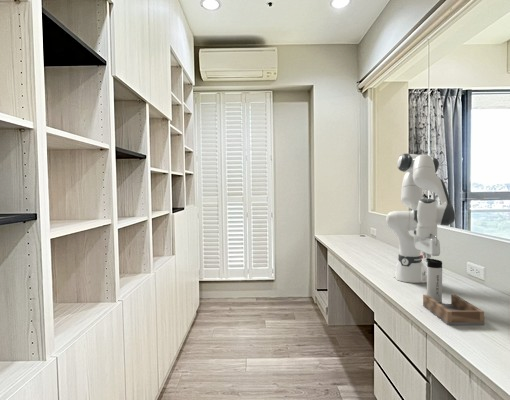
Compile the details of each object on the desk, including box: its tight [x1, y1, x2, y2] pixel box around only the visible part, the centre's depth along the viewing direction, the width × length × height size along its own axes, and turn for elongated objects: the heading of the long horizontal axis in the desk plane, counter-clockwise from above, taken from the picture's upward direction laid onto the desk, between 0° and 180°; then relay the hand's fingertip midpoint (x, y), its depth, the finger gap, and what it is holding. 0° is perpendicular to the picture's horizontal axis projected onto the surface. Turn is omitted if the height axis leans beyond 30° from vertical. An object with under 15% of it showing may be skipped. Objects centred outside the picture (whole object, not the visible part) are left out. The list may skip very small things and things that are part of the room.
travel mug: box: [426, 258, 443, 304], centre depth 170 cm, size 6×7×20 cm
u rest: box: [422, 293, 485, 326], centre depth 155 cm, size 22×14×5 cm, turn 179°
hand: (426, 261), depth 178 cm, fingers closed
